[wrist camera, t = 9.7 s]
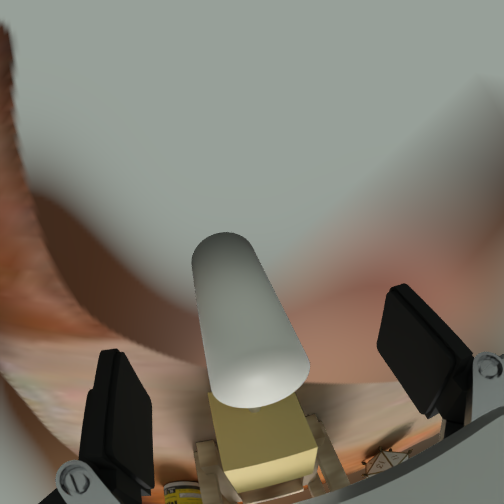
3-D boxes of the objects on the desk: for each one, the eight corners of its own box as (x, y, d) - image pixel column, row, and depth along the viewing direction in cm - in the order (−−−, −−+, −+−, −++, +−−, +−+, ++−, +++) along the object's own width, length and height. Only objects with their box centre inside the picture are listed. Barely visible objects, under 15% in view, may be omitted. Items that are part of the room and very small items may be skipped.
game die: (375, 427, 39) (431, 442, 31) (377, 457, 41) (427, 472, 33) (341, 467, 34) (401, 490, 26) (346, 494, 35) (398, 514, 27)
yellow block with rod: (277, 221, 14) (352, 320, 8) (288, 412, 23) (317, 484, 17) (158, 245, 13) (154, 368, 7) (222, 428, 22) (240, 504, 16)
